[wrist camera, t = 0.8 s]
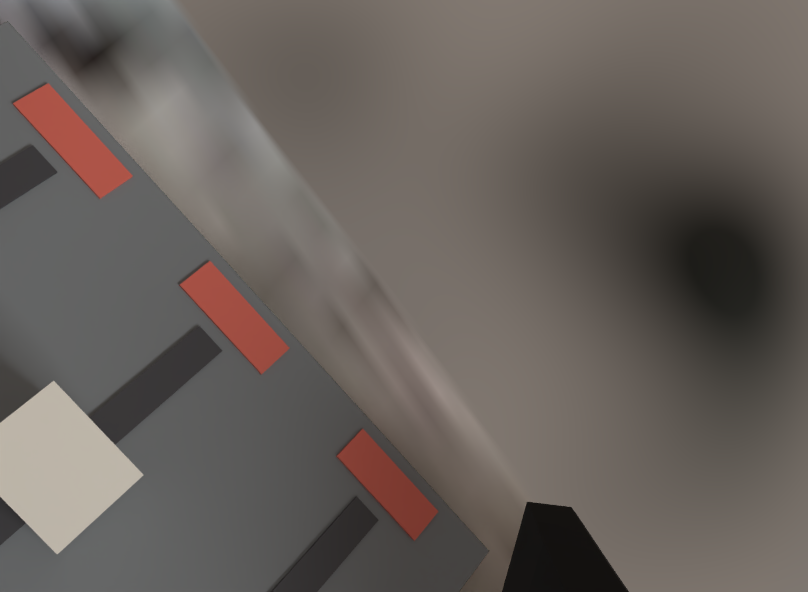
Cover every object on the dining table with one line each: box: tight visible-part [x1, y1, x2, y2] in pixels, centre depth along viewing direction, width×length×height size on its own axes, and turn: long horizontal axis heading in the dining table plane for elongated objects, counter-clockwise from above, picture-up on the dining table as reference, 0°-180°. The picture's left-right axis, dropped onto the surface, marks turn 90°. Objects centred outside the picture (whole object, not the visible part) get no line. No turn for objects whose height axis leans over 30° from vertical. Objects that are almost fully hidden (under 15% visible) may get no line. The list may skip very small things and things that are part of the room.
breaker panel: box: [0, 21, 489, 592], centre depth 20 cm, size 17×22×1 cm
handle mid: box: [0, 381, 143, 554], centre depth 18 cm, size 2×3×3 cm
